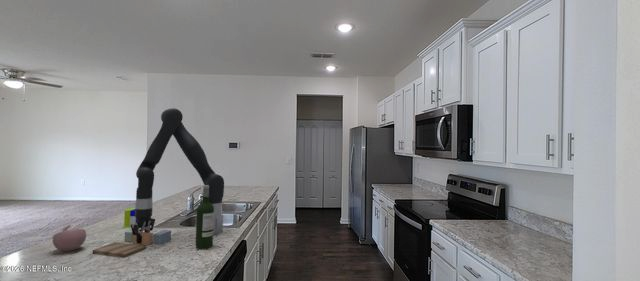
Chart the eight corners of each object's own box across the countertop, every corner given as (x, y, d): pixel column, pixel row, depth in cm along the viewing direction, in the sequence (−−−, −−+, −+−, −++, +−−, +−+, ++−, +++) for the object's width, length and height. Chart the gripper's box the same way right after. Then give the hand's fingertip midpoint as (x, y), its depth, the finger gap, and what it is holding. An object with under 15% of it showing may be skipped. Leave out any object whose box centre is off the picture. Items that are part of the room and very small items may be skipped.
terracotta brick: (152, 242, 156) (152, 232, 156) (146, 245, 152) (146, 235, 152) (138, 241, 158) (139, 231, 158) (132, 243, 154) (132, 233, 154)
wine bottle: (207, 250, 149) (209, 187, 149) (192, 248, 150) (194, 186, 151) (215, 244, 156) (217, 185, 157) (201, 243, 158) (203, 184, 158)
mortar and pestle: (81, 244, 151) (82, 220, 151) (89, 250, 144) (90, 225, 144) (49, 250, 142) (50, 225, 142) (55, 257, 134) (56, 230, 134)
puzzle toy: (140, 228, 183) (141, 210, 183) (124, 227, 183) (124, 210, 183) (150, 223, 193) (151, 207, 193) (134, 223, 193) (135, 206, 193)
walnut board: (145, 248, 148) (145, 245, 148) (124, 257, 136) (124, 254, 136) (115, 245, 152) (115, 242, 152) (92, 253, 140) (92, 250, 140)
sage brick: (135, 237, 165) (136, 227, 165) (142, 237, 165) (143, 228, 165) (124, 241, 157) (124, 231, 157) (131, 242, 157) (132, 232, 157)
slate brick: (164, 239, 163) (164, 229, 163) (170, 240, 162) (171, 230, 162) (152, 244, 155) (153, 234, 155) (159, 245, 154) (160, 234, 154)
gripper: (139, 210, 148) (137, 247, 147) (160, 205, 162) (159, 238, 161) (125, 209, 149) (124, 245, 149) (148, 204, 163) (147, 237, 163)
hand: (142, 241), depth 155 cm, fingers closed on terracotta brick, 4 cm apart
